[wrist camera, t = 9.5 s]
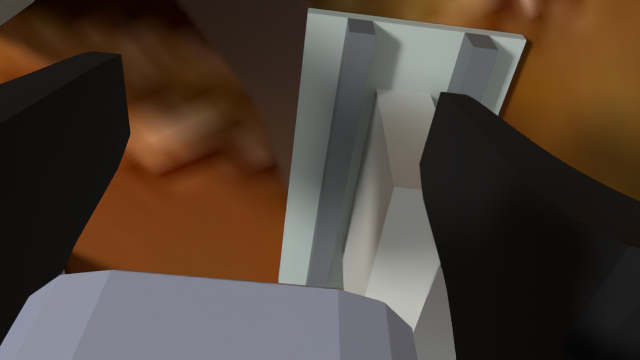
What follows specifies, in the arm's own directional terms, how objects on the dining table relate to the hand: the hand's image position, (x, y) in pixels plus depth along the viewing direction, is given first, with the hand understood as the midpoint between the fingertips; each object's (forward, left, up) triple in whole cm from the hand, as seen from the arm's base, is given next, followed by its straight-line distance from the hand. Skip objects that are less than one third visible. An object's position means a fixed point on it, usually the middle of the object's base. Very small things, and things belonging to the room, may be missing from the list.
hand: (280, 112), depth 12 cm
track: (+5, -9, -10) cm, 15 cm away
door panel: (+5, -9, -10) cm, 14 cm away
